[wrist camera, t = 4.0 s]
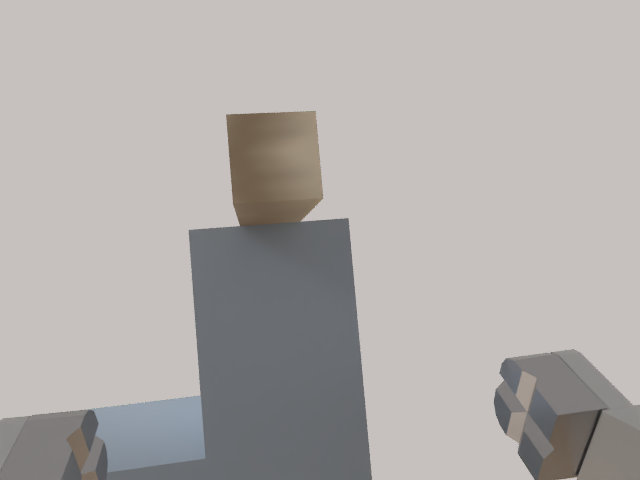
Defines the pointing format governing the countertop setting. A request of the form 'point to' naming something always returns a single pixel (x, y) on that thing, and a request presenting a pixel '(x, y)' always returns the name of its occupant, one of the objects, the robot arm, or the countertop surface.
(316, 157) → the block
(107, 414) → the stepped stand
